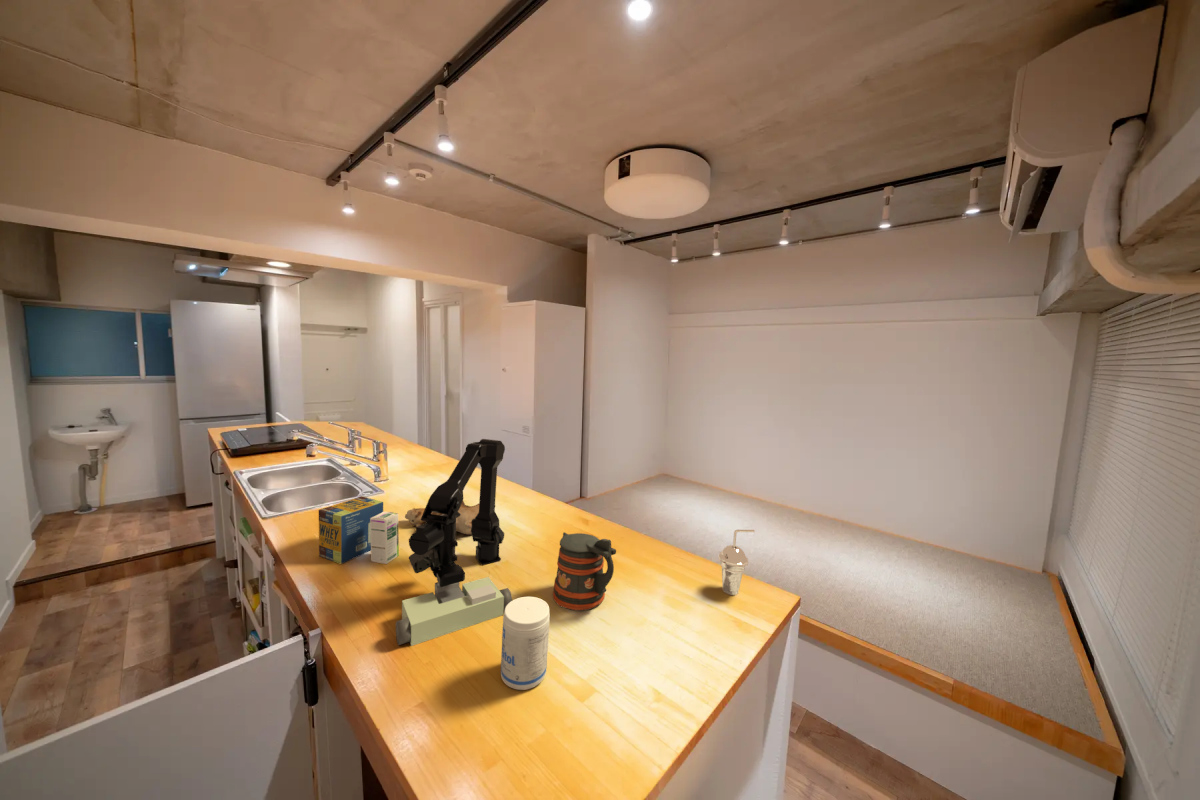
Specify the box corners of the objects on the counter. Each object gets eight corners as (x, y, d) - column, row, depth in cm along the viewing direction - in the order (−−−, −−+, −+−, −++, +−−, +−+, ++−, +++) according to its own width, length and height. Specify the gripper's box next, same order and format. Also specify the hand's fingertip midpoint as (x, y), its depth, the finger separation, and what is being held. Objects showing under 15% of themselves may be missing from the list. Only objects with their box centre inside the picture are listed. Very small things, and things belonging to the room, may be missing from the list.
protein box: (318, 557, 129) (317, 509, 127) (362, 538, 143) (362, 495, 142) (340, 564, 125) (340, 516, 124) (384, 544, 139) (384, 500, 138)
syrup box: (386, 564, 127) (386, 519, 125) (370, 561, 128) (369, 517, 126) (399, 556, 132) (399, 512, 131) (383, 553, 133) (383, 510, 132)
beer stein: (627, 601, 114) (632, 532, 112) (595, 626, 102) (600, 550, 100) (576, 576, 125) (579, 514, 123) (542, 597, 114) (545, 528, 112)
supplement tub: (491, 674, 85) (493, 608, 84) (526, 651, 93) (529, 590, 91) (520, 701, 79) (523, 630, 78) (556, 674, 86) (559, 608, 85)
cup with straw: (724, 580, 128) (729, 518, 126) (752, 592, 122) (758, 528, 120) (710, 589, 122) (715, 525, 120) (738, 603, 116) (744, 536, 114)
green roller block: (496, 591, 115) (496, 569, 115) (512, 611, 106) (512, 588, 106) (391, 622, 100) (391, 597, 99) (399, 649, 91) (399, 622, 90)
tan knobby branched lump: (454, 476, 173) (395, 497, 153) (502, 500, 155) (443, 527, 135) (455, 503, 176) (398, 528, 156) (503, 530, 158) (445, 561, 138)
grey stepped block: (455, 599, 111) (456, 577, 110) (464, 614, 104) (465, 591, 104) (434, 605, 108) (434, 582, 107) (442, 621, 101) (442, 598, 100)
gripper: (405, 529, 112) (404, 582, 114) (419, 560, 97) (418, 621, 99) (446, 522, 118) (445, 572, 120) (466, 550, 103) (464, 607, 105)
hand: (442, 591), depth 111 cm, fingers closed
